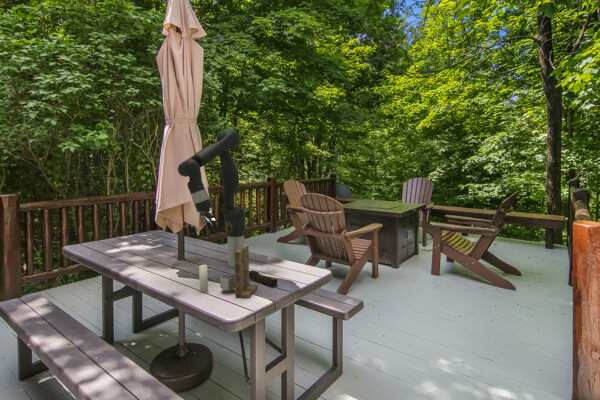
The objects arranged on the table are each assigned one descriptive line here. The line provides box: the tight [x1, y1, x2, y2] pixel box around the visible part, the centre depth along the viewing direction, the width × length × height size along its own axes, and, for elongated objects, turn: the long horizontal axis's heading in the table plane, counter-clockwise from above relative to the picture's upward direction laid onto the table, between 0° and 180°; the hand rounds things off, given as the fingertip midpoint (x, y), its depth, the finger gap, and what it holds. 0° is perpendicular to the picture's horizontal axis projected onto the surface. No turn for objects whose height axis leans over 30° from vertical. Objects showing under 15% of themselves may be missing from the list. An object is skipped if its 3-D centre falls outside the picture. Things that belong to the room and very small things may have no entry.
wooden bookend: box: [234, 245, 259, 299], centre depth 150 cm, size 12×6×20 cm, turn 169°
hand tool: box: [249, 269, 278, 289], centre depth 165 cm, size 19×4×5 cm, turn 45°
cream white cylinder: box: [198, 264, 209, 294], centre depth 152 cm, size 4×4×12 cm
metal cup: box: [219, 273, 235, 291], centre depth 152 cm, size 7×9×5 cm
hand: (214, 232), depth 163 cm, fingers open, 8 cm apart
